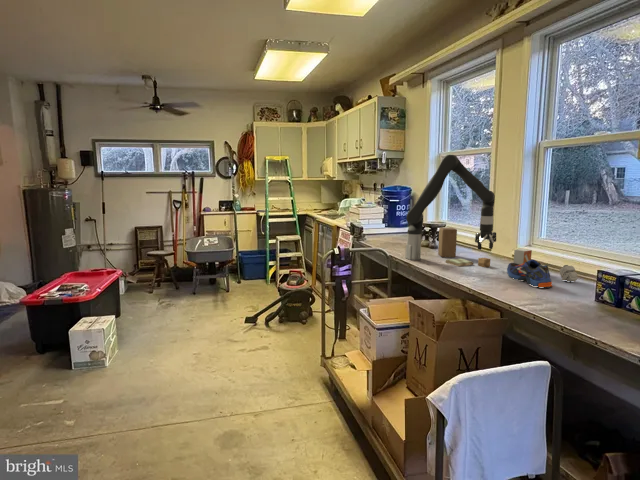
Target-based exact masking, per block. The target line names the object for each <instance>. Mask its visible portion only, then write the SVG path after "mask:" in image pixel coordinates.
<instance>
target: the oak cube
mask: <svg viewBox="0 0 640 480" xmlns="http://www.w3.org/2000/svg"><path fill="white" fill-rule="evenodd" d="M477 266H478V267H480V268H481V267H482V268H491V258H489V257H488V258H487V257H478V259H477Z"/></svg>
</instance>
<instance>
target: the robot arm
mask: <svg viewBox="0 0 640 480" xmlns="http://www.w3.org/2000/svg"><path fill="white" fill-rule="evenodd" d="M451 171H452V172H454V173H455V174H456V175H457V176H459V178H460V179H461V180H462V181H463V182H464V184H465V185H466V186H467V187H468V188H469V189H470V190H471V191H473V192H474V193H475V194H476V195H477V196H478V198H479V199H480V200H481V201H482V206H481V210H480V221H479V232H475V236H474V237H475V238H474V242H475V243H476V244H477V249H478V250H480V251H481V250H482V246H483V245H482V244H483V242H484V241H486V240H487V241H488V242H489V243H488V249H490V250H493V248H494V243H496V242H497V232H496V231H494V206H495V200H496V199H495V197H496V195H495V192H493V191H491V190H489V189H488V187H486V186H485V185H484V184H483V182H481V180H479V178H477V177H476V176H475V175H474V174H473V173H472V172H471V171H469V170H468V168H466V166H464V164H463V162H461V160H460V158H459V157H458V156H456V155H454V154H447V155H445V156H443V158H442V160H441V162H440V164H439V166H438V167H437V170H436V171H435V173H434V175H432V177H431V178H430V179H429V181H428V183H427V184H426V185H425V187H424V188H423V190H422V192H421V193H420V196H419V197H418V199H417V200H416V202H415V204H414V205H413V206H412V208H411V209H410V210H409V211H408V212H407V214H406V221H407V223H408V224H409V227H408V229H407V237H406V238H407V240H406V244H405V257H404V258H405V259H407V260H409V261H411V260H413V261H417V260H421V253H422V252H421V249H422V233H423V232H422V231H423V227H424V215H423V214H424V211H425V210H426V209H427V208H428V206H430V205H431V204H432V202H433V201H434V200H436V198H437V196H438V195H439V193H440V192H441V190H442V188H443V186H444V183H445V181H446V178H447V177H448V176H449V175H450V172H451Z"/></svg>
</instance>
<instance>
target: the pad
mask: <svg viewBox="0 0 640 480" xmlns="http://www.w3.org/2000/svg"><path fill="white" fill-rule="evenodd" d="M445 263H446V264H449V265H452V266H456V267H466V266H474V262H473V261H471V260H467V259H464V258H452V259H451V258H450V259H446V260H445Z"/></svg>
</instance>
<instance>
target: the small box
mask: <svg viewBox="0 0 640 480" xmlns="http://www.w3.org/2000/svg"><path fill="white" fill-rule="evenodd" d="M529 260H532V249H528V248H527V249H526V248H518V249H514V251H513V263H516V264H519V265H521V264H523V263H525V262H527V261H529Z"/></svg>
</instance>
